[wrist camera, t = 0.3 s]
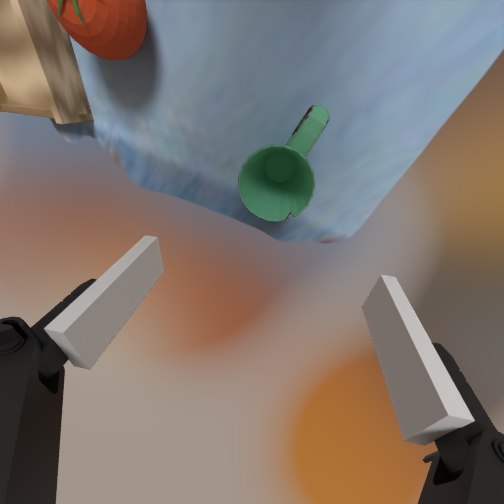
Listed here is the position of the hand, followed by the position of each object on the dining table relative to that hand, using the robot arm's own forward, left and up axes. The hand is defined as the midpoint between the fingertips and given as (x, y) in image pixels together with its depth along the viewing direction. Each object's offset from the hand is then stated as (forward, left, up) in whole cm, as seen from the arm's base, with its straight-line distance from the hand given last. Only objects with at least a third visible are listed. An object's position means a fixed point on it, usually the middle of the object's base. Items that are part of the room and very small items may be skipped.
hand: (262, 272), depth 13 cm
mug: (-1, 0, -28) cm, 28 cm away
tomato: (-15, -24, -28) cm, 39 cm away
